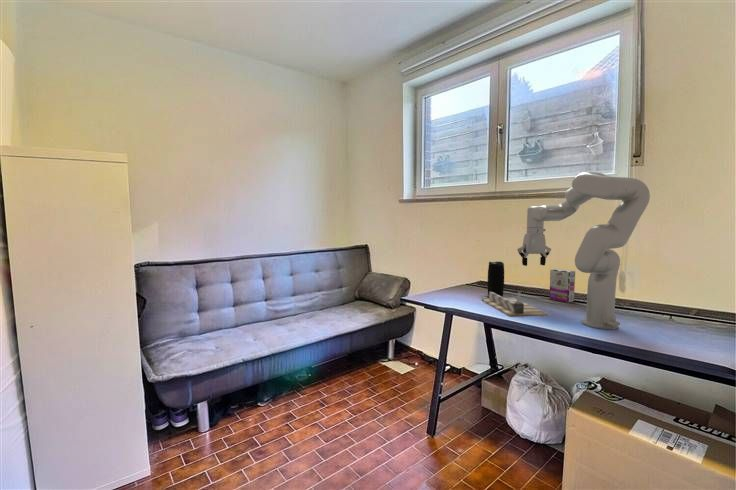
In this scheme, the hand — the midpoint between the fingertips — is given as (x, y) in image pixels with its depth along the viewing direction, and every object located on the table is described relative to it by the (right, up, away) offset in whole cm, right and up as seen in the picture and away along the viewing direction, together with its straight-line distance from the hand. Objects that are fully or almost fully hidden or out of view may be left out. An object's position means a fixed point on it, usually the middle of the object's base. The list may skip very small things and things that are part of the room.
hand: (533, 265), depth 172 cm
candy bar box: (+20, -20, +11) cm, 30 cm away
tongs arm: (-9, -19, -4) cm, 22 cm away
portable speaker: (-12, -19, +19) cm, 30 cm away
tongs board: (-12, -21, -3) cm, 24 cm away
